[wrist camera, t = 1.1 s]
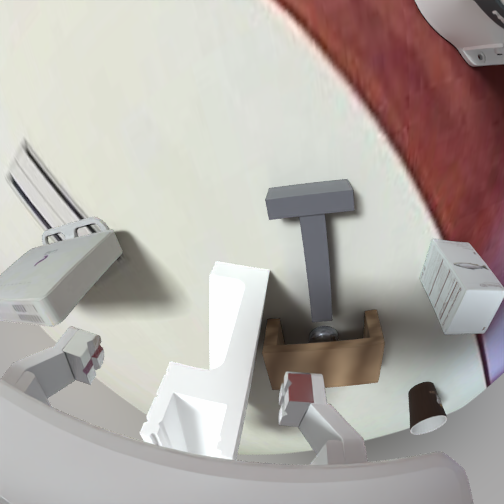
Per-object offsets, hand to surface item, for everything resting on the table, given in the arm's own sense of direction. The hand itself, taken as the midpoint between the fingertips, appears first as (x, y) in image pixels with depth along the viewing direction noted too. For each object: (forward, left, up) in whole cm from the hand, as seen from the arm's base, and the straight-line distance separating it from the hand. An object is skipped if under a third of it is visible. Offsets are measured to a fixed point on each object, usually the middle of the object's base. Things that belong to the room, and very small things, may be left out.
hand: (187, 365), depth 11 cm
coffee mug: (-28, +53, -29) cm, 67 cm away
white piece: (+11, +30, -29) cm, 43 cm away
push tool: (-5, +12, -29) cm, 32 cm away
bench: (-5, +29, -29) cm, 41 cm away
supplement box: (-25, +16, -29) cm, 42 cm away
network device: (+36, +6, -29) cm, 47 cm away
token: (-5, +29, -29) cm, 41 cm away
